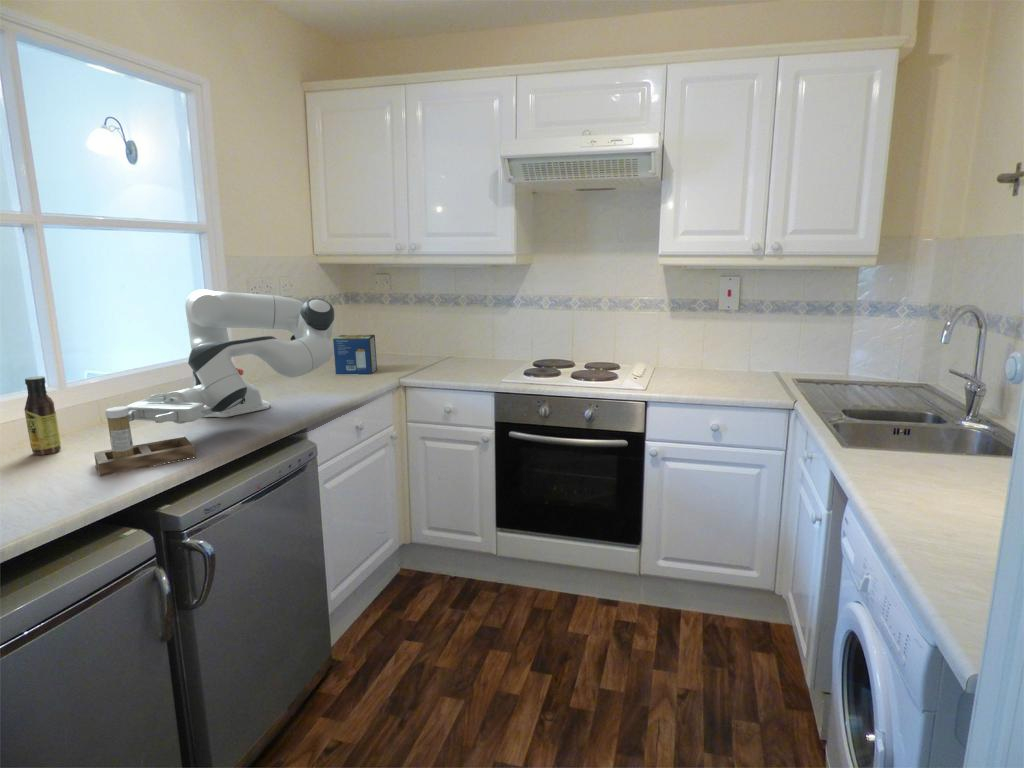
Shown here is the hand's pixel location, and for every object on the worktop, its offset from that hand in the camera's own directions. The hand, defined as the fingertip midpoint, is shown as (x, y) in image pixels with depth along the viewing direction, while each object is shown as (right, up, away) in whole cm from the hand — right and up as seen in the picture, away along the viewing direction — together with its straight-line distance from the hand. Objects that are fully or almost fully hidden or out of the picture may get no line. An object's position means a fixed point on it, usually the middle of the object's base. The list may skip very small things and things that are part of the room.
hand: (141, 419), depth 154 cm
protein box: (+26, +13, +111) cm, 115 cm away
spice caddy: (+2, -10, -2) cm, 11 cm away
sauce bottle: (-28, -9, +7) cm, 31 cm away
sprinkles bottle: (-1, -10, -4) cm, 11 cm away
